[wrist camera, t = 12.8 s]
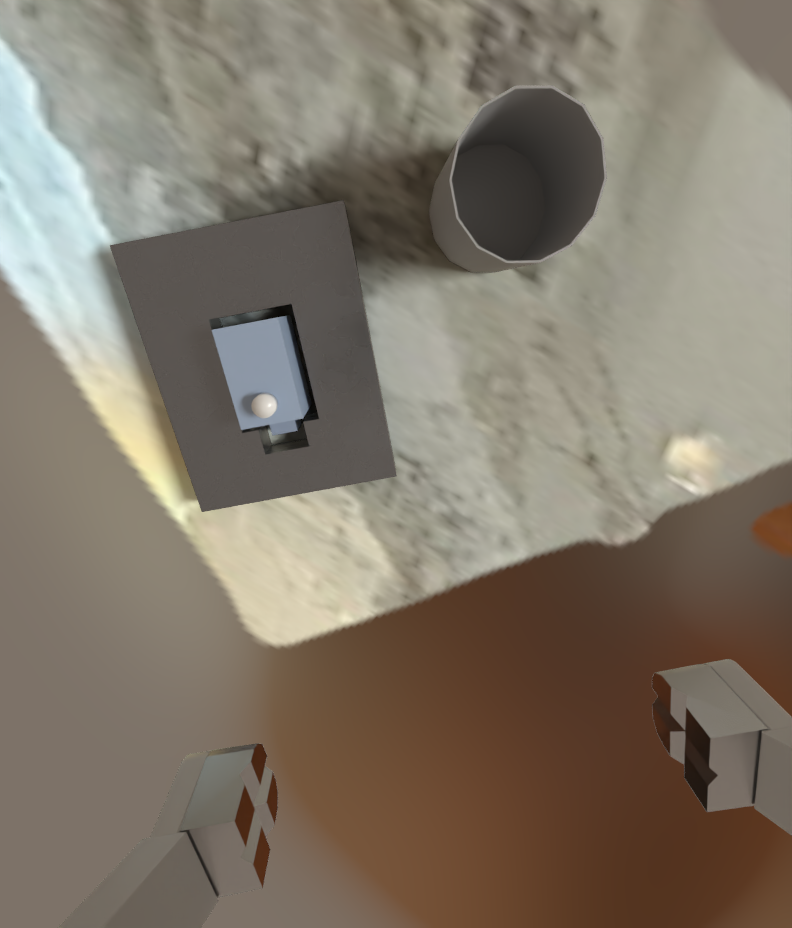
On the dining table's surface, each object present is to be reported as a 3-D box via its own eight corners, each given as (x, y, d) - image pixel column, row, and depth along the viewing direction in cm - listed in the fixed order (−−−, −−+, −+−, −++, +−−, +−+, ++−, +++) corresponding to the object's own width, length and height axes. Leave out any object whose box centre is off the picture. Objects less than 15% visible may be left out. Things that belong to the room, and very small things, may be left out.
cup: (481, 115, 33) (525, 42, 23) (566, 198, 35) (638, 161, 25) (406, 223, 35) (418, 196, 25) (491, 296, 37) (531, 295, 27)
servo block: (290, 315, 37) (274, 317, 31) (316, 421, 39) (306, 442, 34) (232, 326, 37) (206, 330, 31) (262, 431, 39) (243, 453, 34)
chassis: (345, 206, 34) (343, 200, 32) (395, 465, 41) (396, 476, 39) (128, 249, 35) (109, 245, 32) (211, 499, 41) (201, 511, 39)
